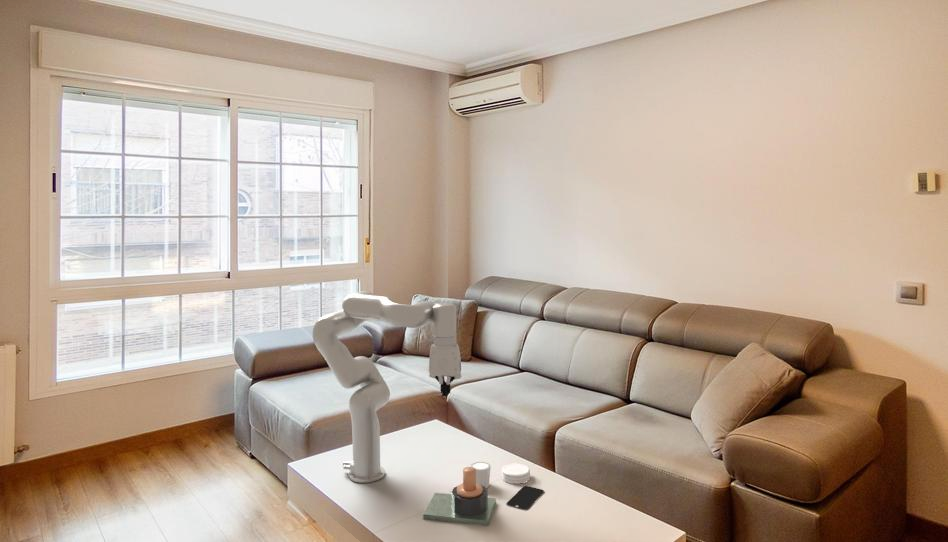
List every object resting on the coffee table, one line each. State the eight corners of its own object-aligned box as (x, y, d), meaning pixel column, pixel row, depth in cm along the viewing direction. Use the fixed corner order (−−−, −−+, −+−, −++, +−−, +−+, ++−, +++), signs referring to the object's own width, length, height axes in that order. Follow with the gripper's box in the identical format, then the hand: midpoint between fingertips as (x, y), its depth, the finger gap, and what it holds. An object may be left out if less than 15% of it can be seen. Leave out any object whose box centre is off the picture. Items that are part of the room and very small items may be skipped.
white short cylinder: (531, 473, 207) (531, 464, 207) (528, 486, 197) (528, 476, 197) (504, 471, 209) (504, 461, 209) (499, 483, 199) (499, 473, 199)
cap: (454, 505, 176) (453, 474, 175) (459, 493, 184) (459, 463, 183) (479, 508, 175) (479, 476, 174) (484, 495, 183) (484, 465, 182)
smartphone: (504, 504, 184) (524, 484, 197) (504, 506, 184) (524, 487, 197) (526, 510, 180) (545, 490, 193) (526, 512, 180) (545, 492, 193)
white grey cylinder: (488, 491, 193) (488, 470, 193) (468, 489, 195) (468, 469, 194) (492, 481, 200) (492, 462, 199) (472, 480, 201) (472, 460, 201)
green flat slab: (423, 519, 176) (422, 498, 175) (435, 497, 189) (435, 478, 189) (488, 525, 172) (488, 504, 171) (495, 502, 185) (495, 483, 185)
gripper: (419, 342, 189) (420, 397, 191) (464, 344, 186) (465, 400, 188) (426, 337, 196) (427, 390, 198) (469, 339, 193) (469, 393, 195)
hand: (445, 395), depth 193 cm, fingers closed
